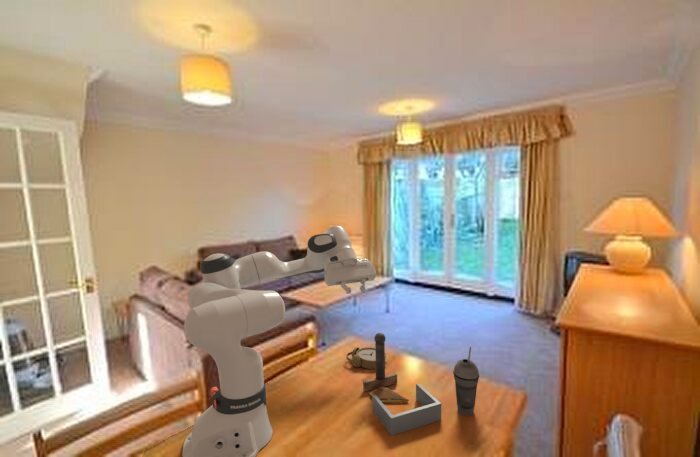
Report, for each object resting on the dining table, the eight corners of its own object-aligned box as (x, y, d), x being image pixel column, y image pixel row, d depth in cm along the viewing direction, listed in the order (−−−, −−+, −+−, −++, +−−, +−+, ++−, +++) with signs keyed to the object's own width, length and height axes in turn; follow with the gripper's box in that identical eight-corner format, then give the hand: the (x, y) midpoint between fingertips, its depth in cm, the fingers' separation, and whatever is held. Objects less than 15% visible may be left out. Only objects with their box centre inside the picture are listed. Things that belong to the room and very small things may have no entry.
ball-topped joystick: (366, 393, 115) (365, 338, 113) (361, 387, 118) (360, 334, 116) (399, 384, 119) (398, 332, 117) (393, 379, 123) (393, 328, 121)
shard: (409, 404, 110) (409, 398, 110) (392, 414, 105) (392, 409, 105) (383, 389, 118) (383, 384, 118) (366, 398, 113) (366, 393, 113)
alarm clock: (388, 361, 130) (347, 356, 130) (386, 374, 131) (345, 368, 130) (384, 348, 142) (347, 342, 141) (382, 359, 142) (345, 354, 142)
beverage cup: (460, 400, 111) (461, 338, 108) (483, 410, 105) (484, 345, 103) (448, 411, 106) (448, 346, 103) (471, 422, 100) (472, 354, 98)
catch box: (391, 435, 96) (391, 418, 95) (372, 411, 106) (372, 395, 106) (441, 419, 102) (441, 403, 101) (418, 398, 112) (418, 383, 112)
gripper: (367, 263, 147) (378, 292, 139) (319, 268, 139) (328, 299, 132) (372, 254, 143) (383, 284, 135) (323, 259, 135) (332, 291, 127)
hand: (356, 291), depth 133 cm, fingers open, 4 cm apart
